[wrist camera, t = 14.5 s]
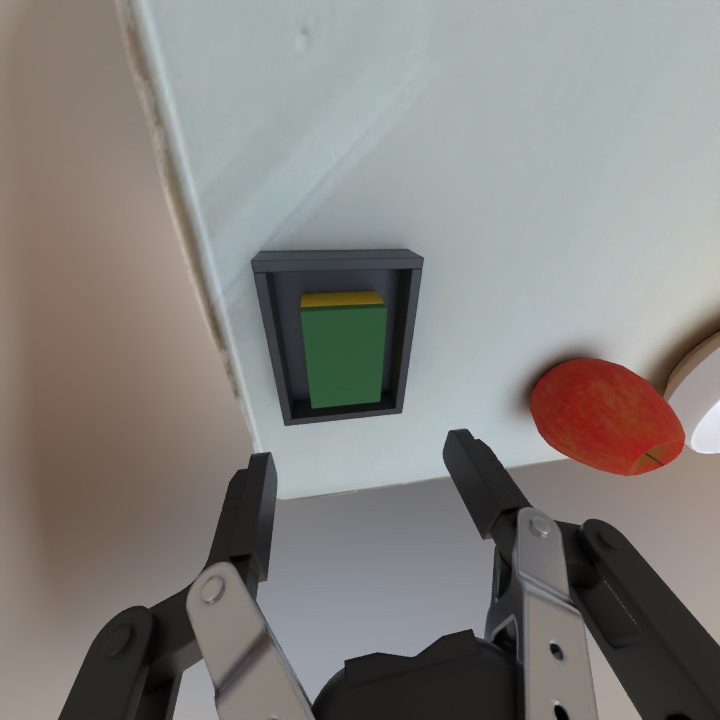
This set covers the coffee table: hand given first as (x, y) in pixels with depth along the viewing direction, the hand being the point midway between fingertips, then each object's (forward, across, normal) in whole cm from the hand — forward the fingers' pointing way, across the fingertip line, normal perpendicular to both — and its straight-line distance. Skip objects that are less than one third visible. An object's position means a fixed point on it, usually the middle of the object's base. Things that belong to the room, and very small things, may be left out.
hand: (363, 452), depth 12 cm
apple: (+12, -25, +8) cm, 29 cm away
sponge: (+11, 0, 0) cm, 11 cm away
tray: (+12, 0, 0) cm, 12 cm away
